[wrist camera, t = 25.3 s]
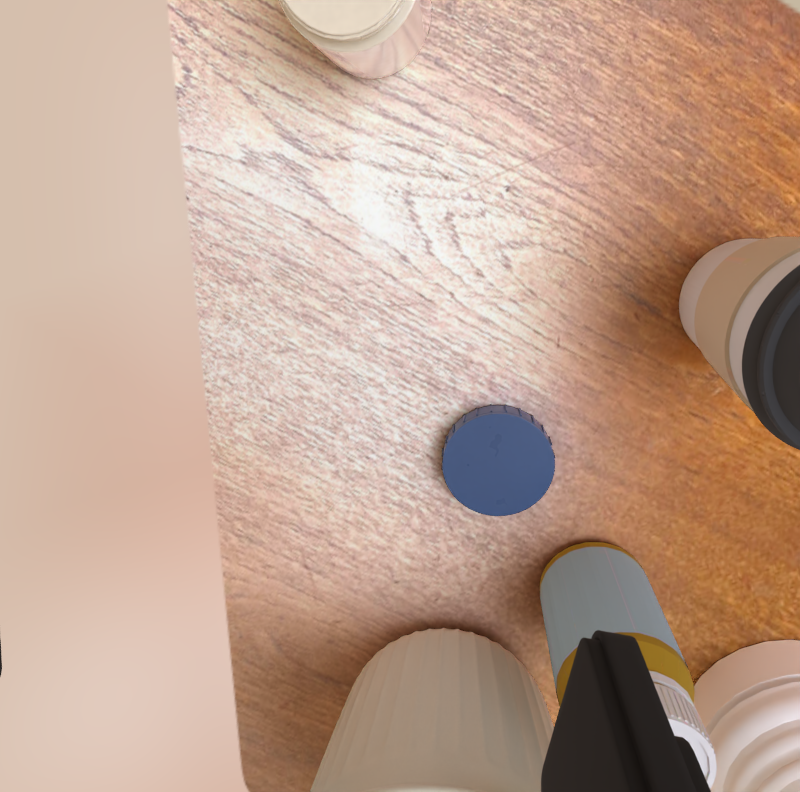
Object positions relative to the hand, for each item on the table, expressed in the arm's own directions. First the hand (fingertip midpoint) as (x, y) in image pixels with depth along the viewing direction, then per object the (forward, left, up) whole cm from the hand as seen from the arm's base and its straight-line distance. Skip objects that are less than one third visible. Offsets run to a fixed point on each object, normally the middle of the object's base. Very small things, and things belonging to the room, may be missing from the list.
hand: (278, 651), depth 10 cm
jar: (-5, +15, -31) cm, 35 cm away
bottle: (+14, -17, -32) cm, 39 cm away
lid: (+6, -9, -30) cm, 32 cm away
